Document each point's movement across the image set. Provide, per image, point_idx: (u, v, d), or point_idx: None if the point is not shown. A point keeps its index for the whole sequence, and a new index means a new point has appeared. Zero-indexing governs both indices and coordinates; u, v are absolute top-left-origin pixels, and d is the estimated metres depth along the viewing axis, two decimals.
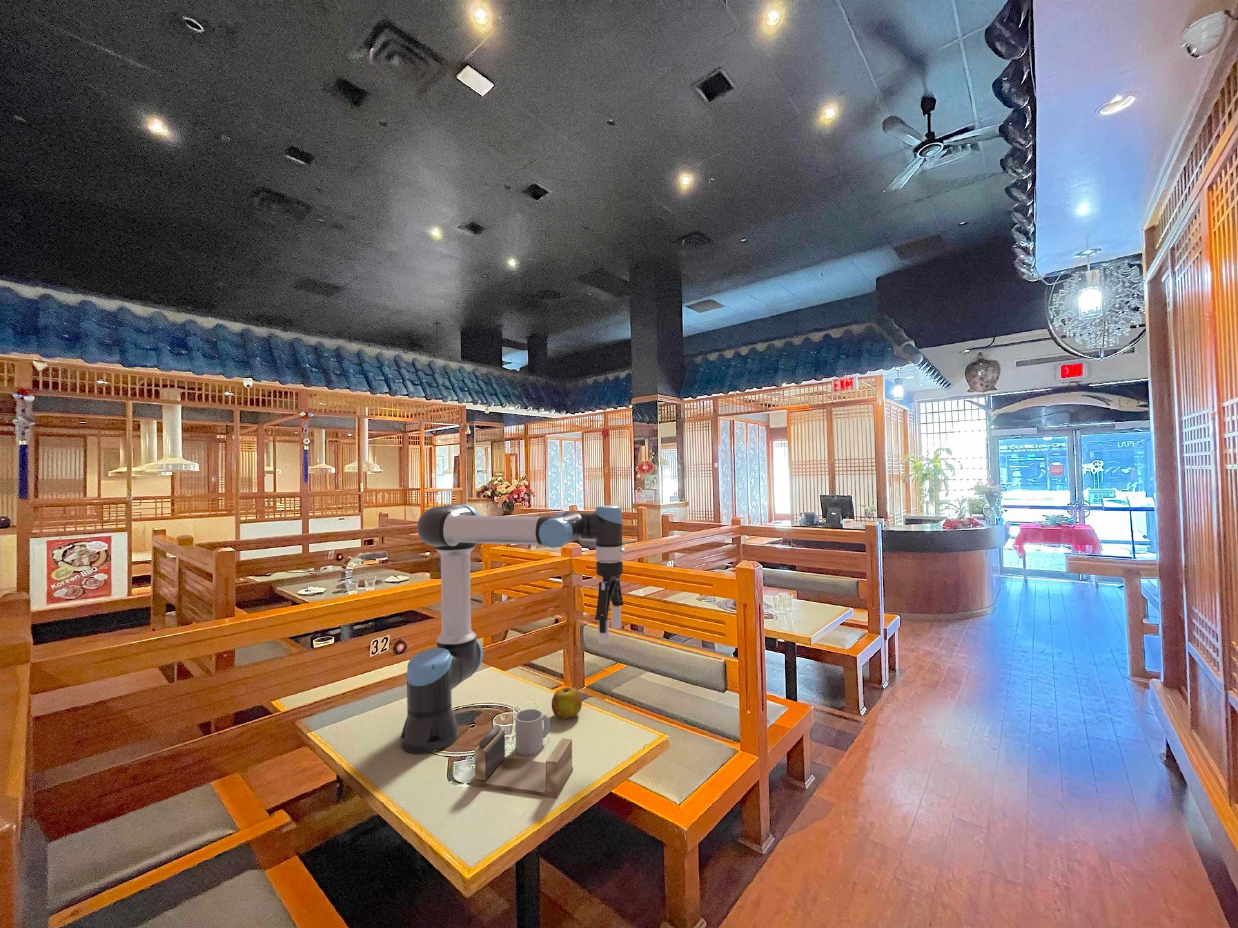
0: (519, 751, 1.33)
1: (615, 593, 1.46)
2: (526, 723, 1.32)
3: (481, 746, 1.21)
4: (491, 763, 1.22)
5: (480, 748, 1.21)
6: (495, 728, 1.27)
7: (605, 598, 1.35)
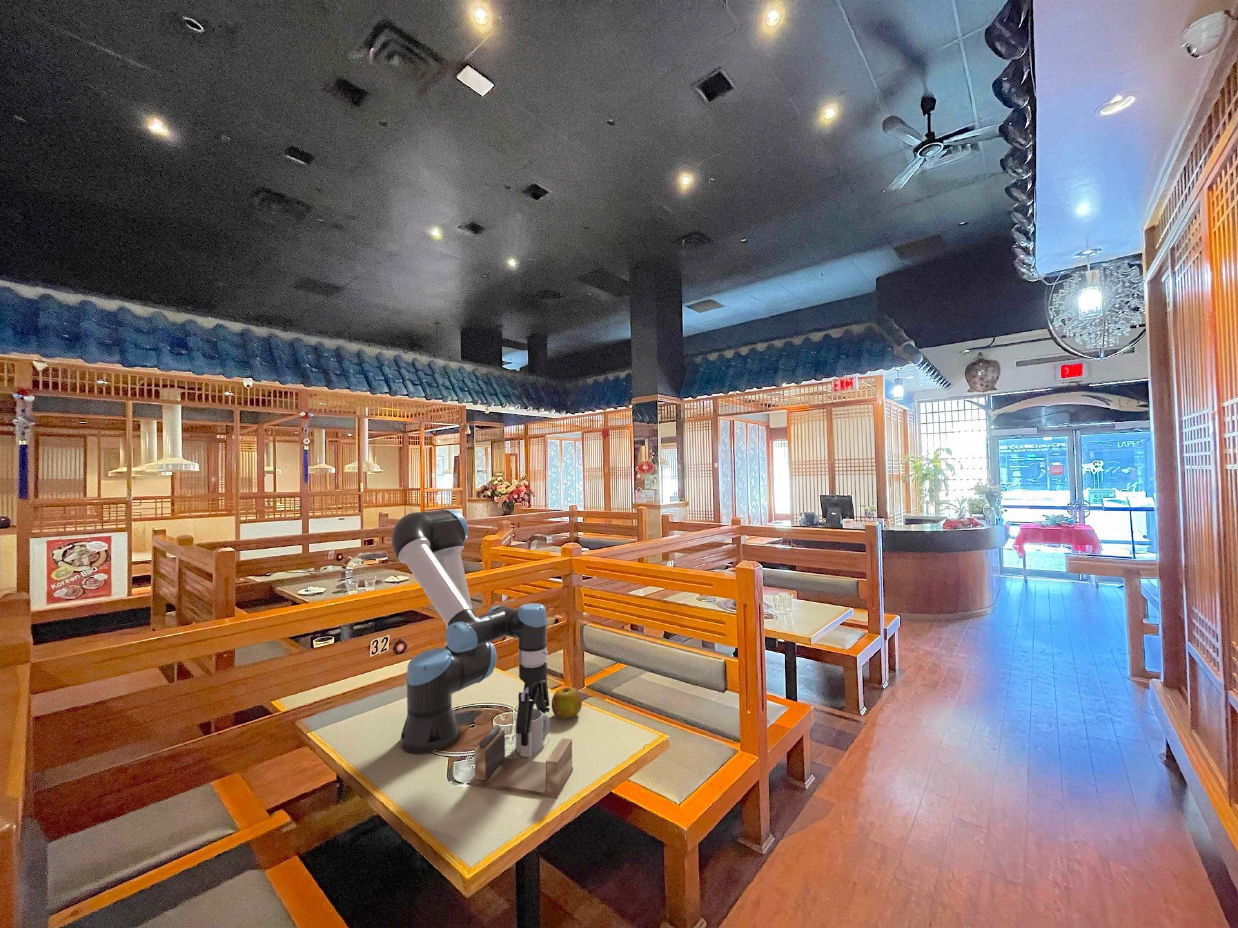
0: (519, 751, 1.33)
1: (540, 697, 1.39)
2: None
3: (481, 746, 1.21)
4: (491, 763, 1.22)
5: (480, 748, 1.21)
6: (495, 728, 1.27)
7: (525, 710, 1.30)
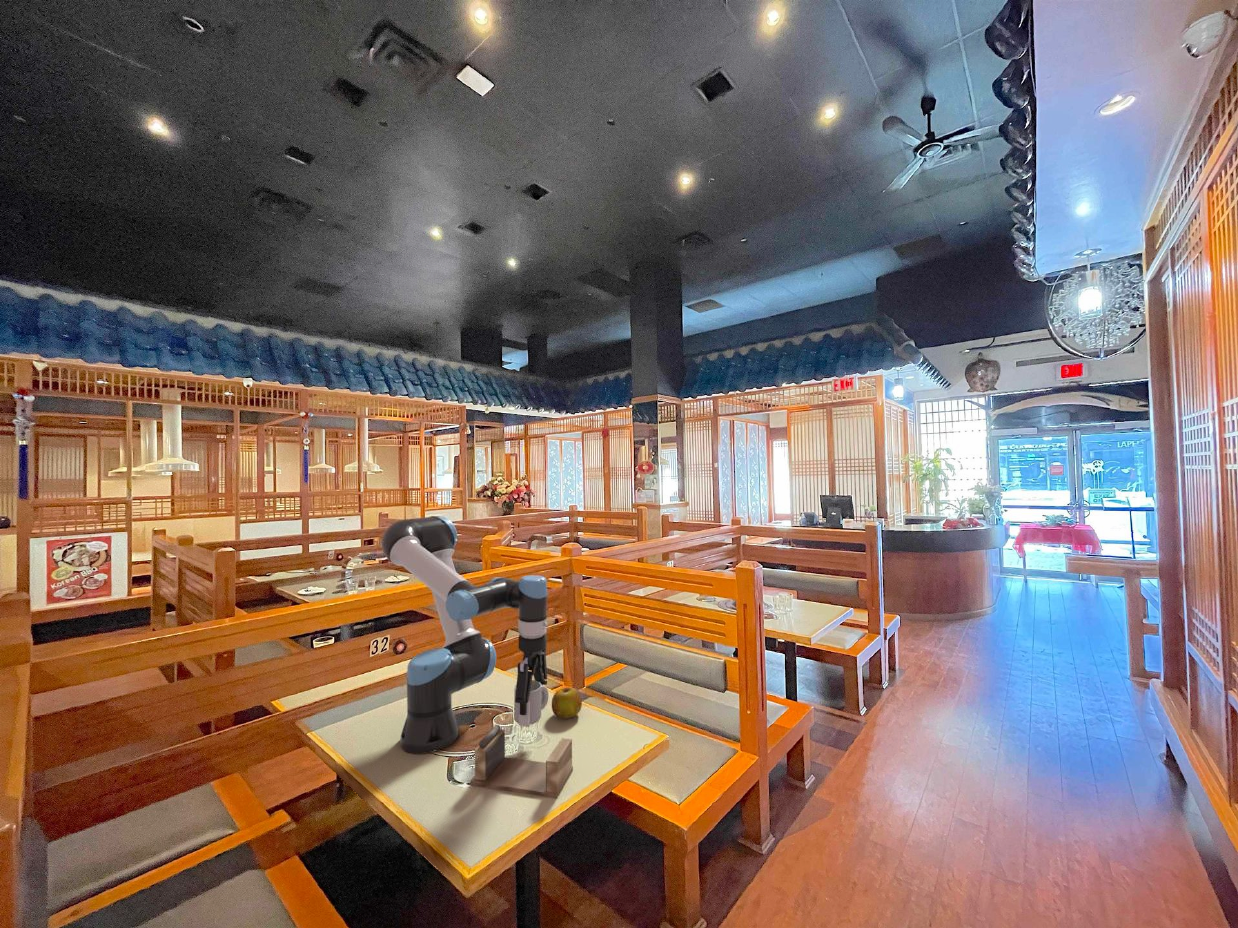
0: (517, 720, 1.34)
1: (538, 669, 1.39)
2: None
3: (481, 746, 1.21)
4: (491, 763, 1.22)
5: (480, 748, 1.21)
6: (495, 728, 1.27)
7: (524, 681, 1.30)
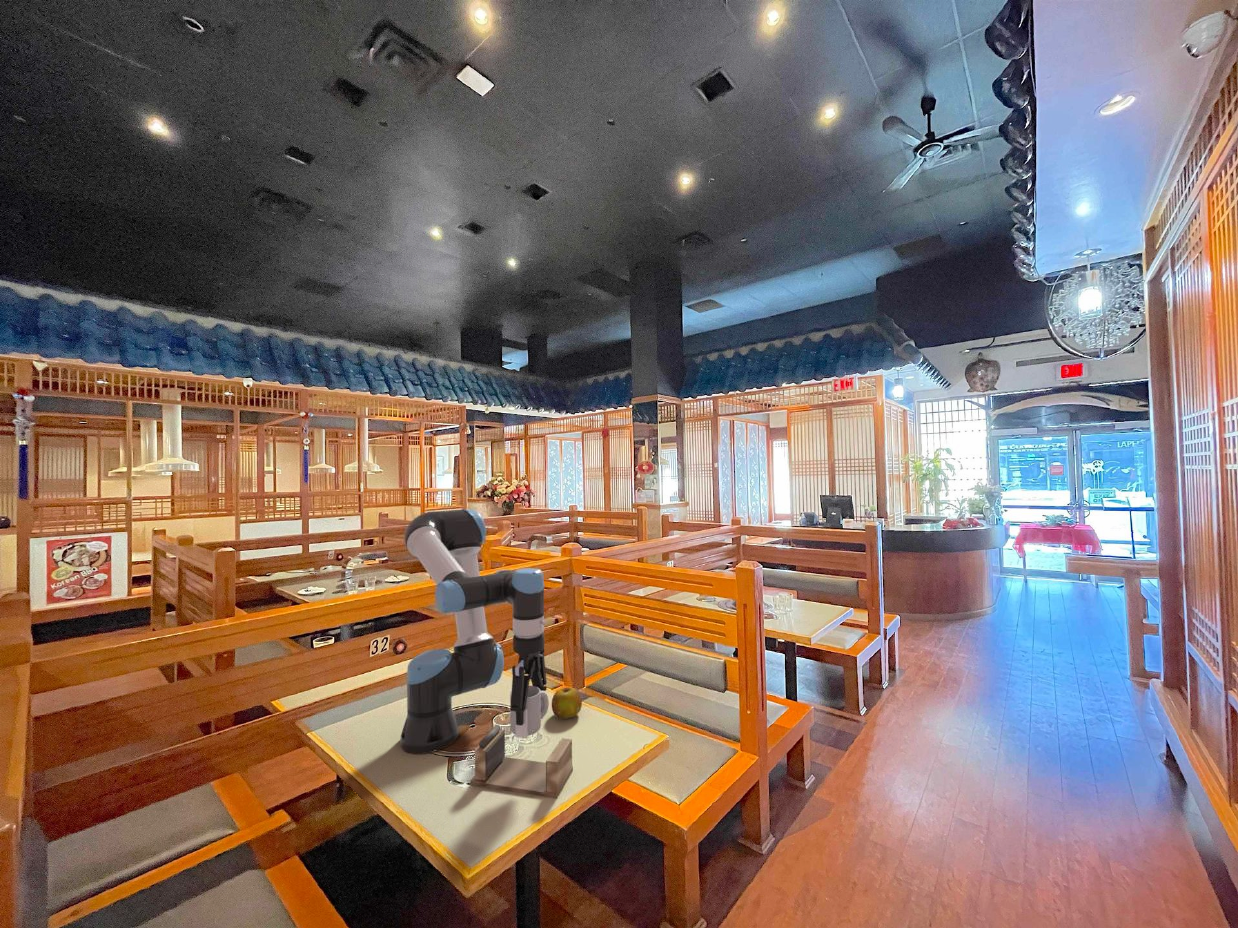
0: (514, 731, 1.19)
1: (536, 673, 1.25)
2: None
3: (481, 746, 1.21)
4: (491, 763, 1.22)
5: (480, 748, 1.21)
6: (495, 728, 1.27)
7: (520, 686, 1.16)
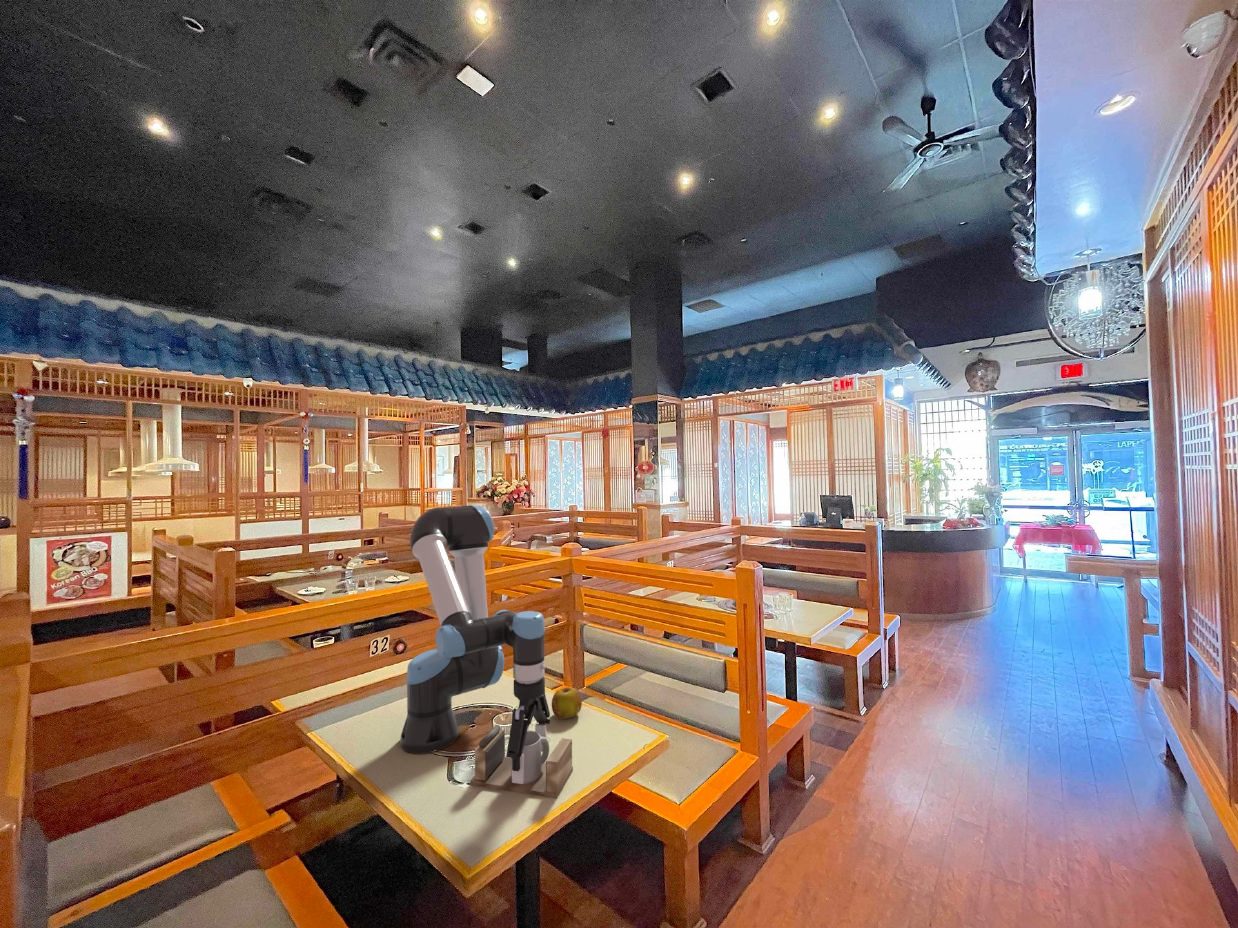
0: None
1: (538, 712, 1.26)
2: None
3: (481, 746, 1.21)
4: (491, 763, 1.22)
5: (480, 748, 1.21)
6: (495, 728, 1.27)
7: (519, 730, 1.15)
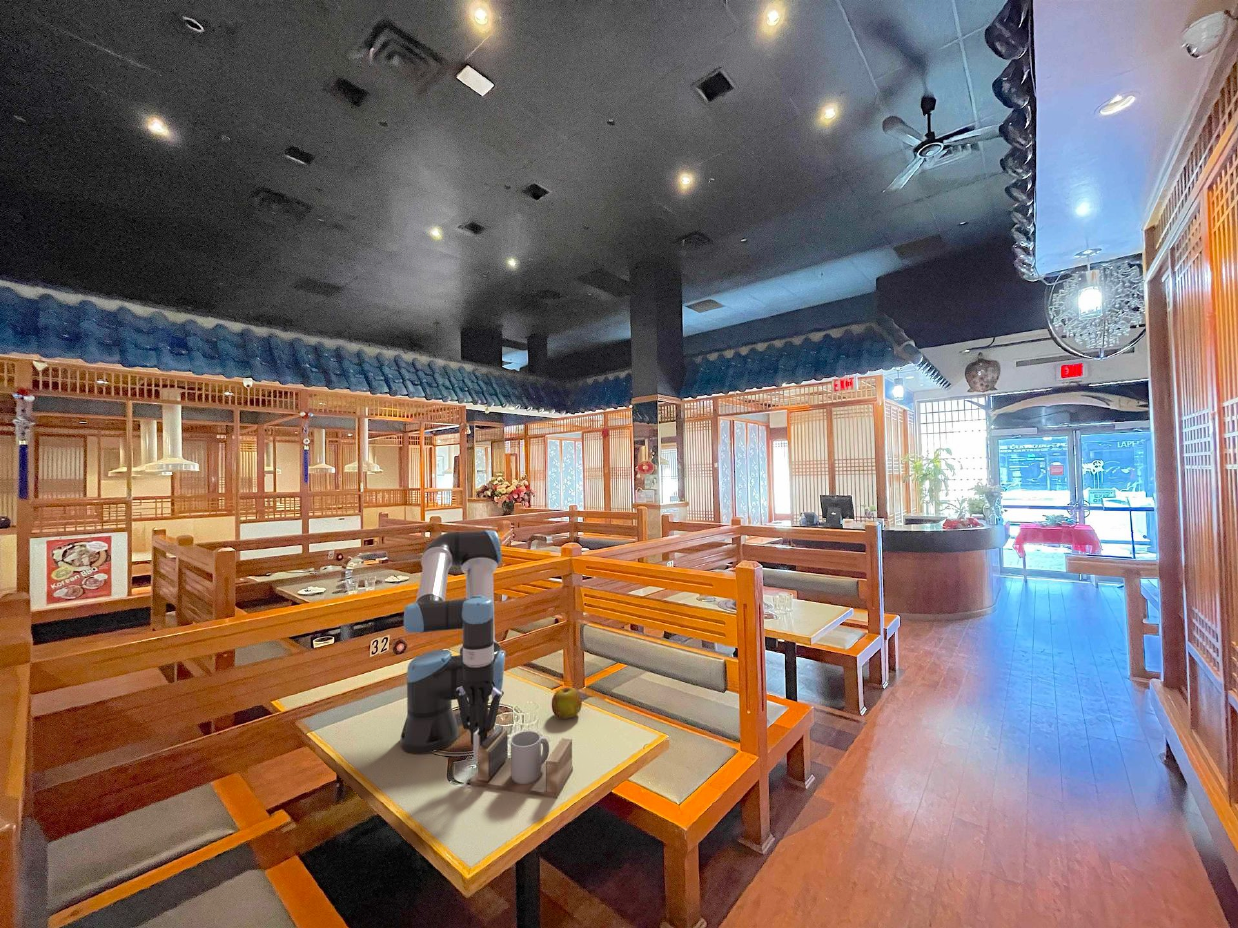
0: (514, 779, 1.19)
1: None
2: (522, 748, 1.18)
3: (484, 746, 1.21)
4: (494, 763, 1.22)
5: (483, 748, 1.21)
6: (498, 728, 1.27)
7: None
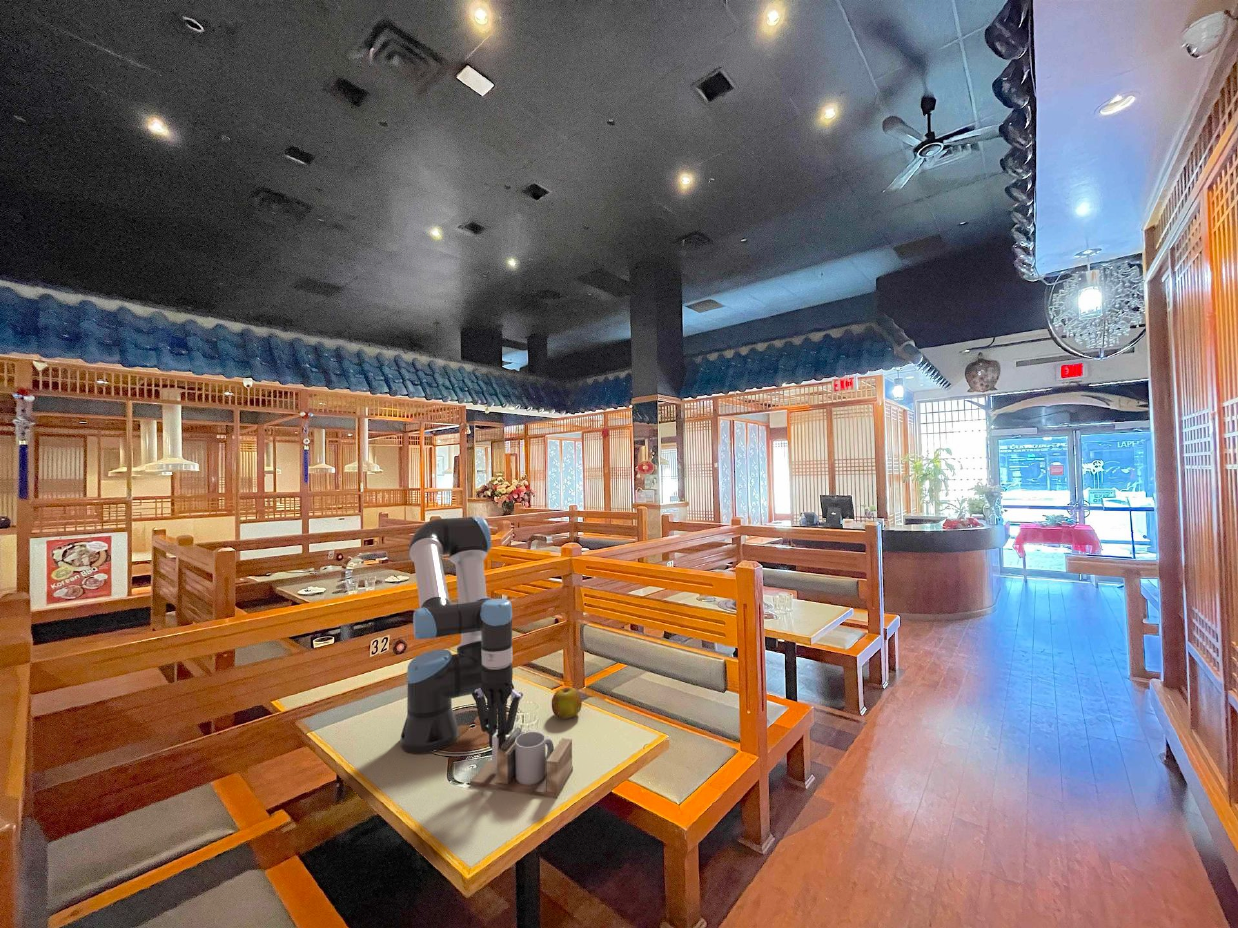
0: (519, 780, 1.19)
1: None
2: (526, 748, 1.18)
3: (503, 749, 1.20)
4: (513, 766, 1.21)
5: (502, 751, 1.20)
6: (516, 731, 1.26)
7: None
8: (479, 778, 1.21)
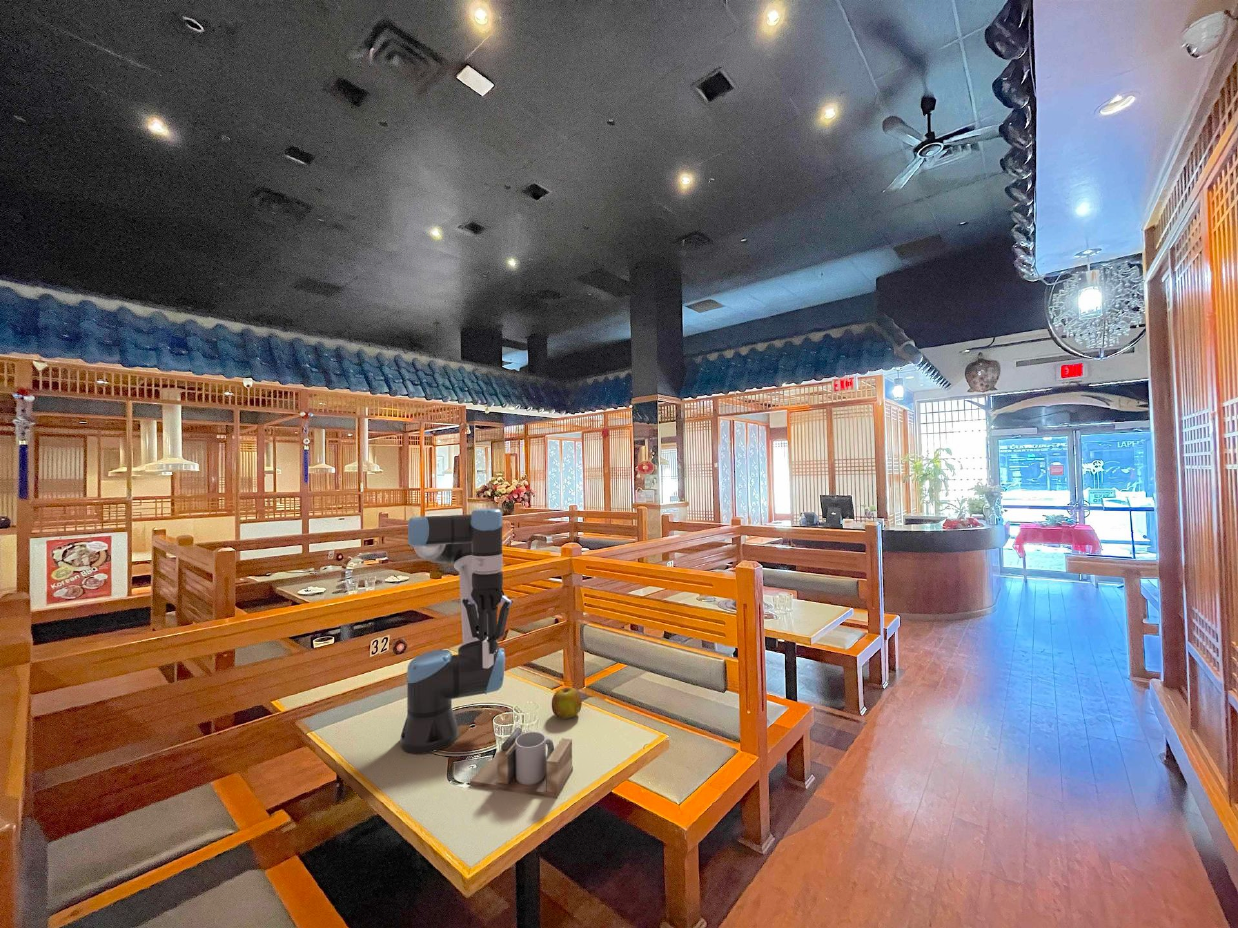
0: (519, 780, 1.19)
1: None
2: (526, 749, 1.18)
3: (503, 749, 1.20)
4: (513, 766, 1.21)
5: (502, 751, 1.19)
6: (516, 731, 1.26)
7: None
8: (479, 778, 1.21)
